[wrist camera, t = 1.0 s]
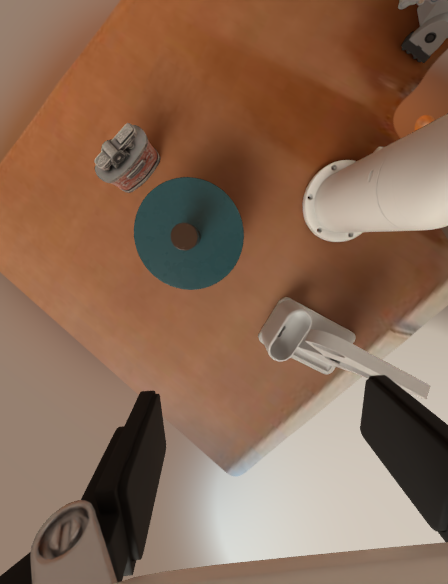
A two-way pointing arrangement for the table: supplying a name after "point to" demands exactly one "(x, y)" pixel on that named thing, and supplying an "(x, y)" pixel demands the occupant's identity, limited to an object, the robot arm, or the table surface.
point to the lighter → (127, 159)
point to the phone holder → (326, 346)
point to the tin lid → (188, 233)
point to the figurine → (426, 28)
